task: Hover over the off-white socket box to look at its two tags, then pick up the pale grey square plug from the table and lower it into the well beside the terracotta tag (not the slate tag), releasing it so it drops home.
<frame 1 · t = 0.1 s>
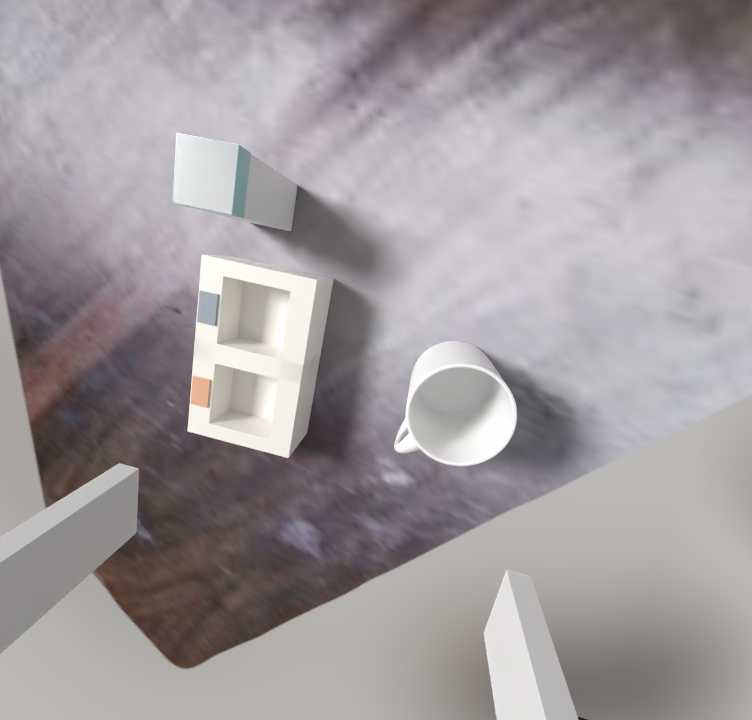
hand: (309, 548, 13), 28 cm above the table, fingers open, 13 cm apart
plug: (273, 204, 38), on the table
socket box: (272, 348, 41), on the table
mug: (439, 388, 40), on the table
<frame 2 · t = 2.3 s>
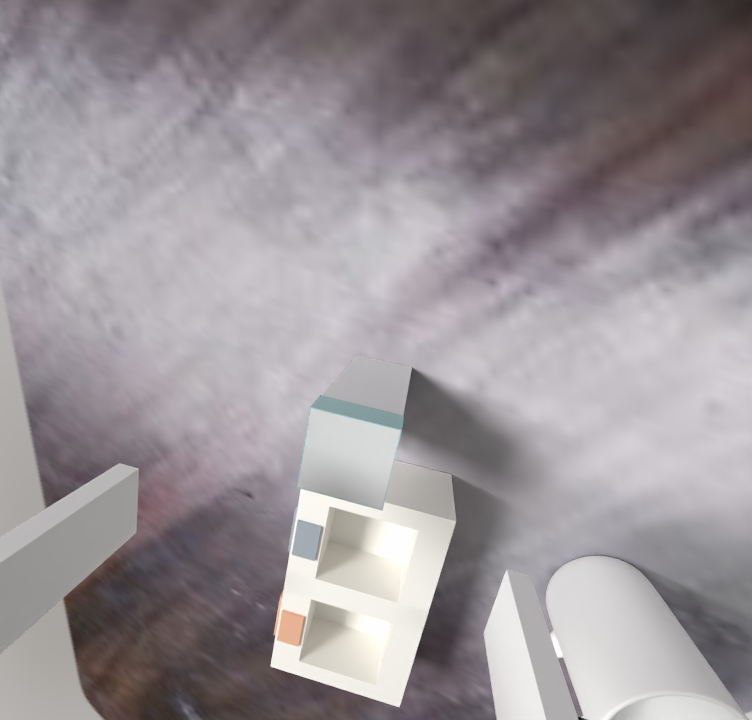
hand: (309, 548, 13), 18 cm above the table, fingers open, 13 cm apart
plug: (378, 387, 30), on the table
socket box: (367, 544, 34), on the table
mug: (577, 601, 32), on the table
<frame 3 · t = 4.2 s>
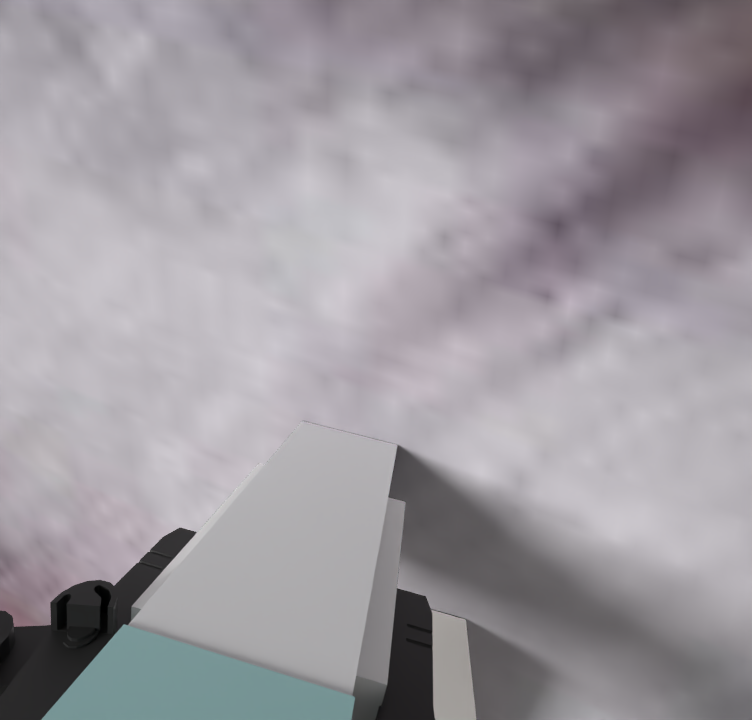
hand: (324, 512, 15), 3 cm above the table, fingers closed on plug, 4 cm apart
plug: (340, 475, 17), on the table, touching gripper
socket box: (328, 713, 21), on the table
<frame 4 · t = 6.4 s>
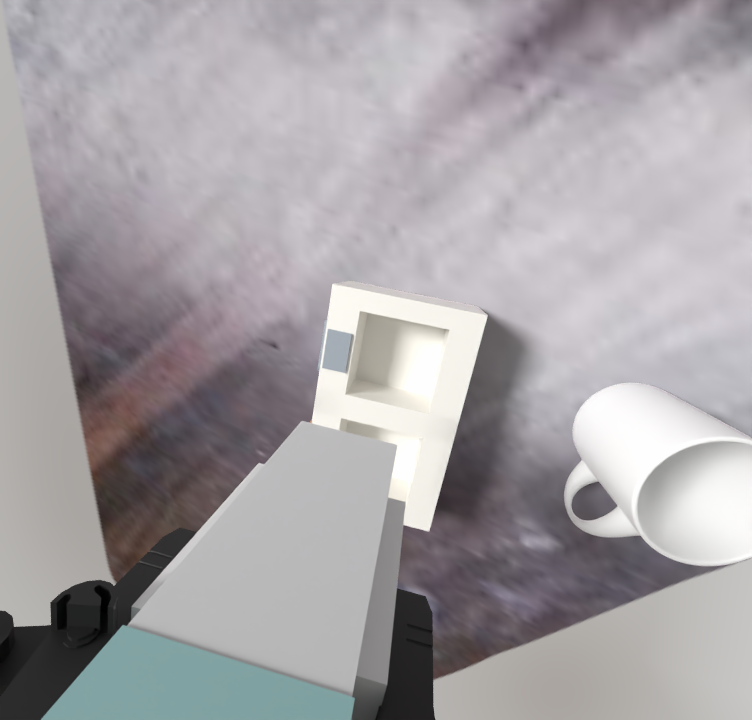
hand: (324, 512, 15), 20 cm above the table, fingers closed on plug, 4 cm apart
plug: (340, 475, 17), point 17 cm above the table, touching gripper
socket box: (392, 390, 34), on the table
mug: (604, 437, 32), on the table
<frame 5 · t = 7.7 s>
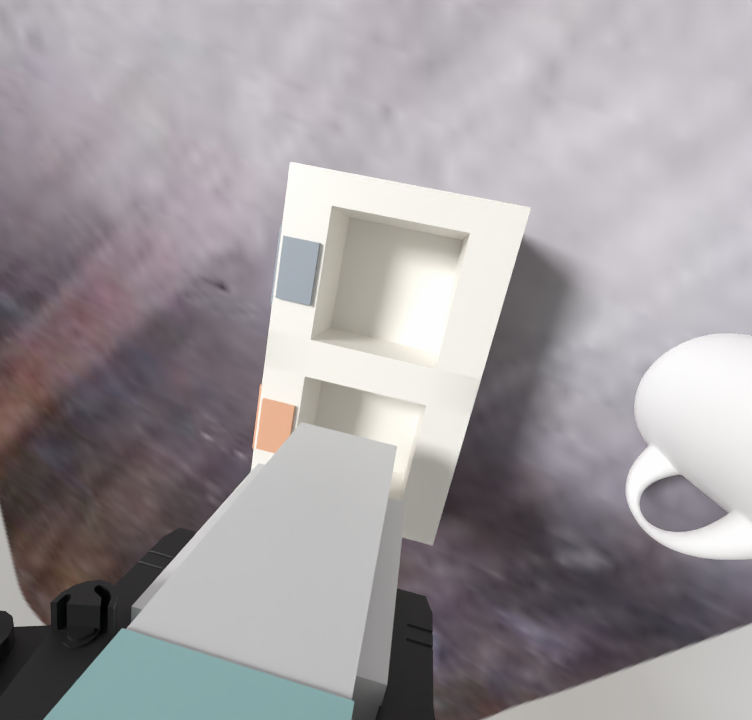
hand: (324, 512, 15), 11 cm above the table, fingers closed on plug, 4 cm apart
plug: (340, 476, 17), point 9 cm above the table, touching gripper
socket box: (382, 348, 25), on the table
mug: (676, 415, 23), on the table
when the fingers open (8 cm above the table, at t = 8.7 s): plug drops 3 cm, resting on socket box.
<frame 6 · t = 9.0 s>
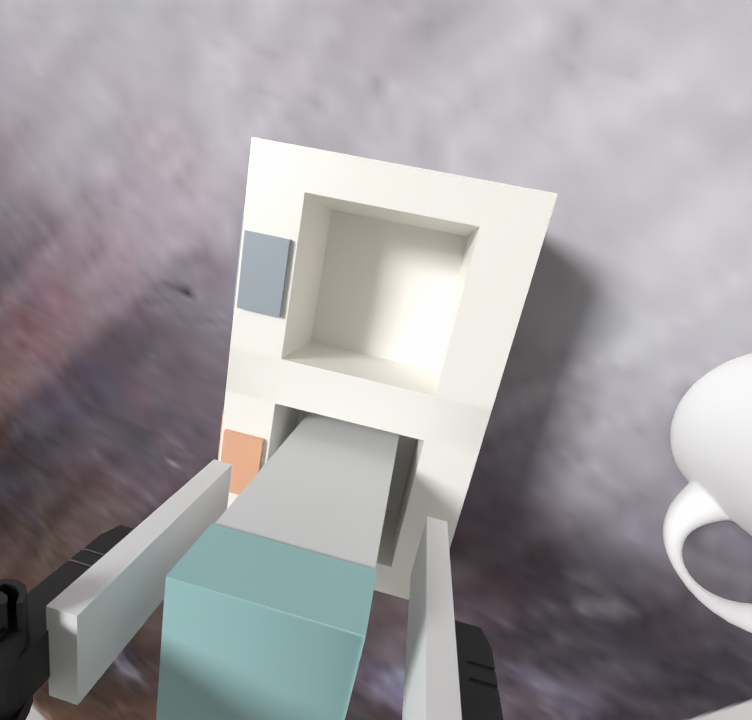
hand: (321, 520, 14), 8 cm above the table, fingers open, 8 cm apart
plug: (352, 446, 20), point 2 cm above the table, touching socket box
socket box: (373, 364, 21), on the table
mug: (719, 444, 20), on the table
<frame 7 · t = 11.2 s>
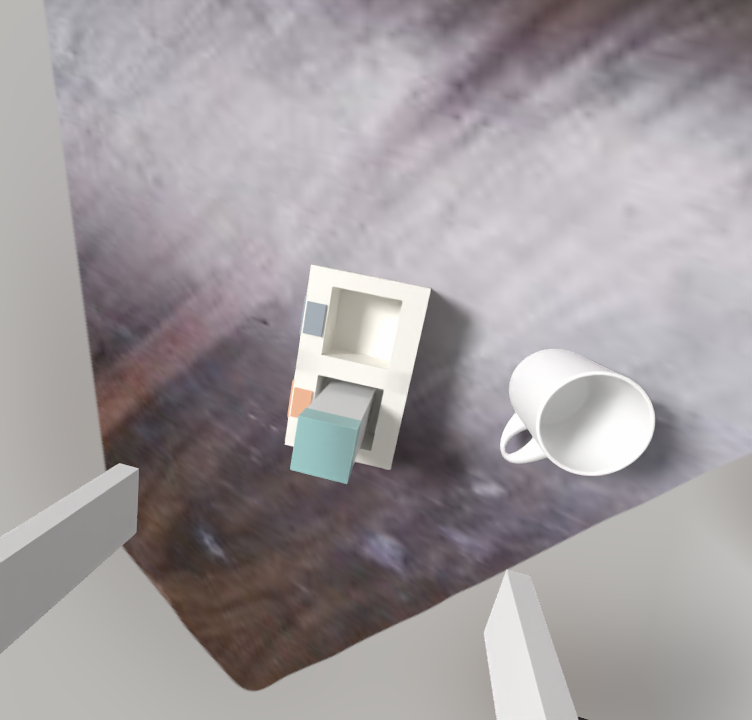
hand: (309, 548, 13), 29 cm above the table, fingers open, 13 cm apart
plug: (352, 400, 40), point 2 cm above the table, touching socket box
socket box: (362, 359, 41), on the table
mug: (535, 396, 39), on the table
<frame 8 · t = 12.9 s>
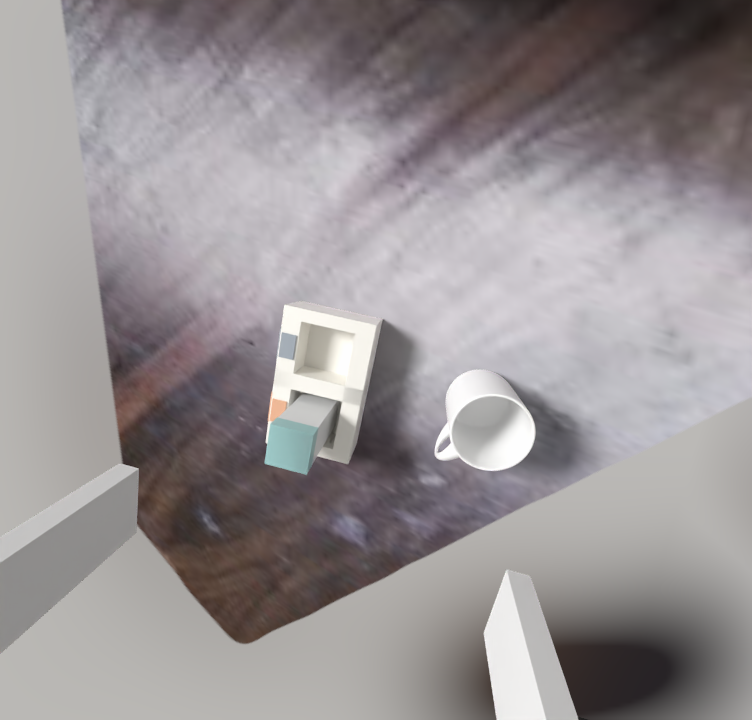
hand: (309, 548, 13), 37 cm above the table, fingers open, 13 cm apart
plug: (321, 408, 49), point 2 cm above the table, touching socket box
socket box: (330, 374, 50), on the table
mug: (468, 406, 49), on the table
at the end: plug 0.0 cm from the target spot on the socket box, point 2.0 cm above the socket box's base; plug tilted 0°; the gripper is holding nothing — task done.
